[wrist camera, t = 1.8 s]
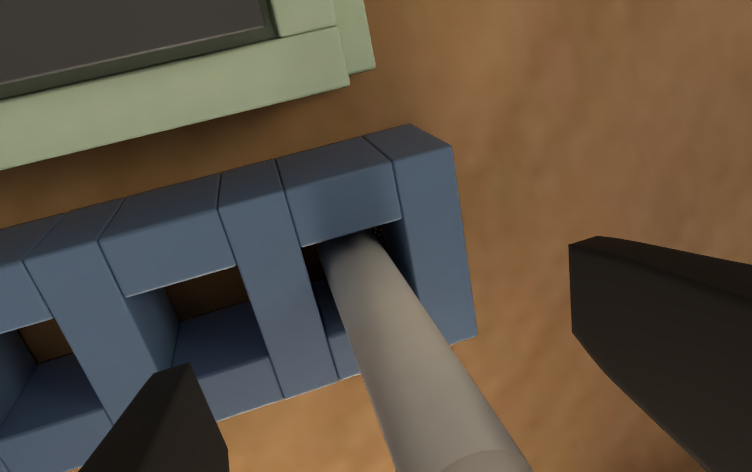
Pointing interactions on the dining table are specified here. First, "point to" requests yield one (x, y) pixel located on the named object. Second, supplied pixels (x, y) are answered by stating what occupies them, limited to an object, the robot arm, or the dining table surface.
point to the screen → (109, 30)
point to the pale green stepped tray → (187, 82)
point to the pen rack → (208, 255)
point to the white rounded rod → (412, 368)
